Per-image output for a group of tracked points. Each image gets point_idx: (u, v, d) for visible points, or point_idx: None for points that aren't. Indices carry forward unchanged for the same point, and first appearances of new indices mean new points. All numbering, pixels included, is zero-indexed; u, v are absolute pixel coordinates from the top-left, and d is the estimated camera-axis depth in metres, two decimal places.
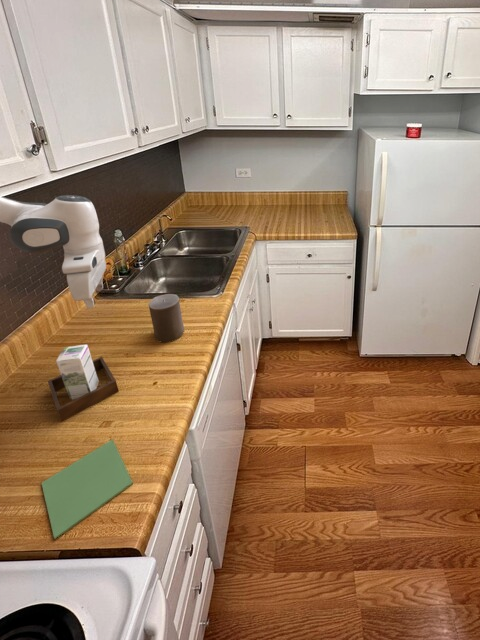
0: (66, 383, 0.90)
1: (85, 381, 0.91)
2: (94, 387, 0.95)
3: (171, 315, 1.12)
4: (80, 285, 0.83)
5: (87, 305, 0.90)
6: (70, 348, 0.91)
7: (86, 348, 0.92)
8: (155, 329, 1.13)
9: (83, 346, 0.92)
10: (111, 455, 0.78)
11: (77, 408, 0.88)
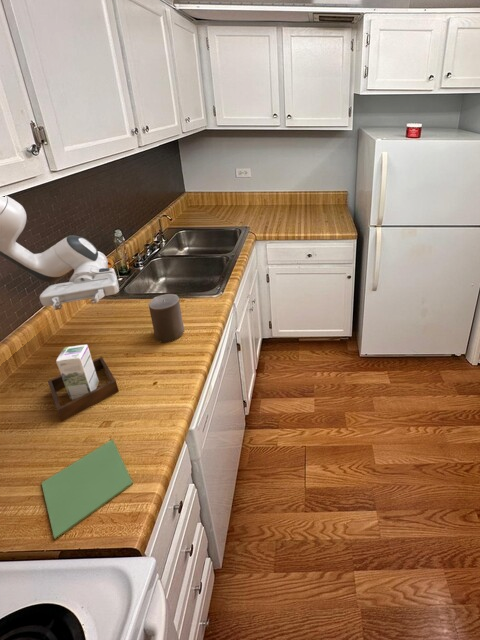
0: (66, 383, 0.90)
1: (85, 381, 0.91)
2: (94, 387, 0.95)
3: (171, 315, 1.12)
4: None
5: (97, 297, 0.99)
6: (70, 348, 0.91)
7: (86, 348, 0.92)
8: (155, 329, 1.13)
9: (83, 346, 0.92)
10: (111, 455, 0.78)
11: (77, 408, 0.88)
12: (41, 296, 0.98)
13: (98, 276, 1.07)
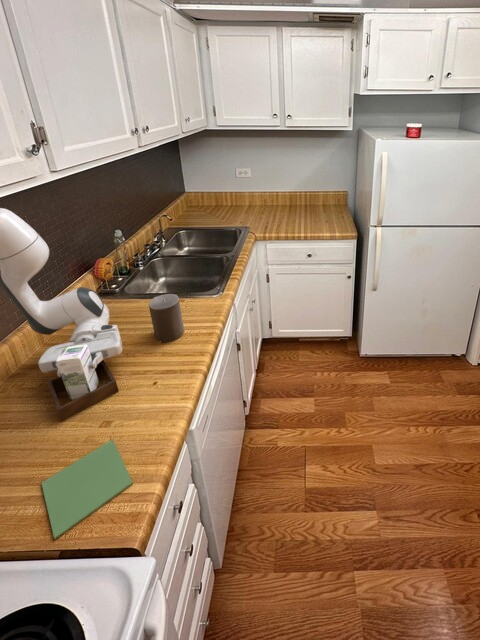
0: (66, 383, 0.90)
1: (85, 381, 0.91)
2: (94, 387, 0.95)
3: (171, 315, 1.12)
4: (121, 342, 1.03)
5: (95, 362, 0.93)
6: (70, 348, 0.91)
7: (86, 348, 0.92)
8: (155, 329, 1.13)
9: (83, 346, 0.92)
10: (111, 455, 0.78)
11: (77, 408, 0.88)
12: (40, 362, 0.92)
13: (100, 335, 1.01)
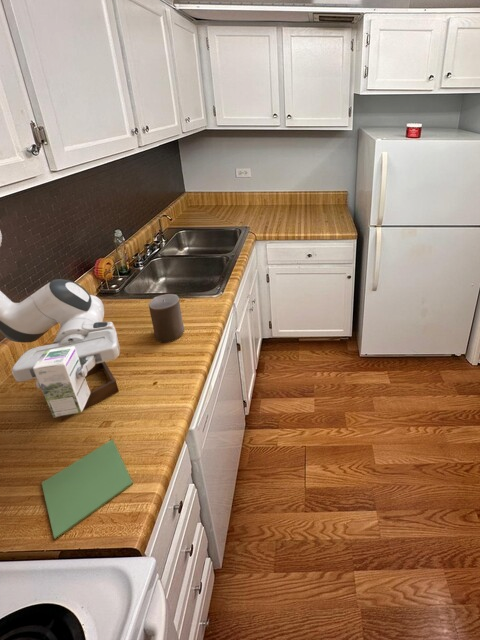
0: (47, 396, 0.70)
1: (72, 394, 0.71)
2: (84, 400, 0.75)
3: (171, 315, 1.12)
4: (118, 343, 0.83)
5: (85, 369, 0.73)
6: (52, 351, 0.71)
7: (73, 351, 0.72)
8: (155, 329, 1.13)
9: (69, 349, 0.72)
10: (111, 455, 0.78)
11: None
12: (14, 369, 0.72)
13: (92, 334, 0.81)
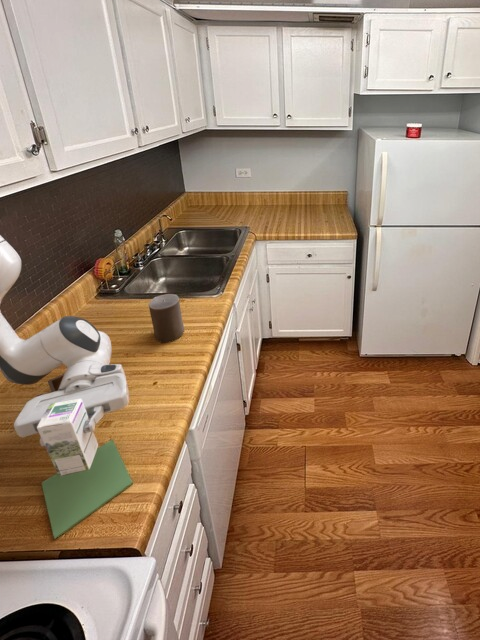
0: (52, 455, 0.64)
1: (79, 451, 0.65)
2: (92, 455, 0.69)
3: (171, 315, 1.12)
4: (127, 388, 0.77)
5: (92, 423, 0.68)
6: (58, 405, 0.65)
7: (80, 404, 0.67)
8: (155, 329, 1.13)
9: (76, 402, 0.66)
10: (111, 455, 0.78)
11: None
12: (16, 424, 0.66)
13: (100, 380, 0.76)
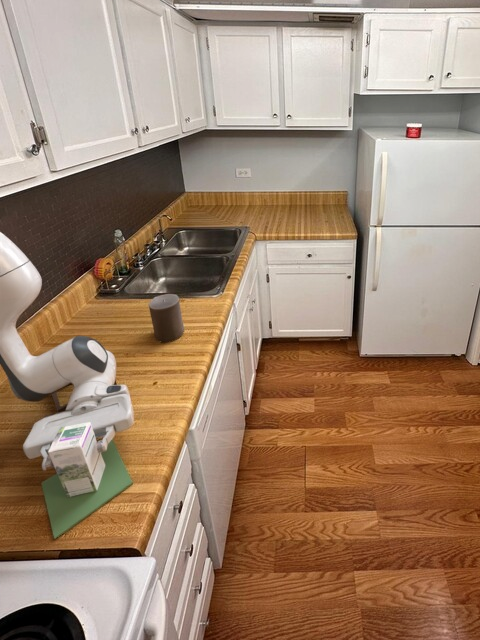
0: (62, 478, 0.67)
1: (88, 474, 0.68)
2: (99, 476, 0.72)
3: (171, 315, 1.12)
4: (132, 408, 0.79)
5: (105, 443, 0.70)
6: (67, 429, 0.68)
7: (89, 428, 0.69)
8: (155, 329, 1.13)
9: (85, 426, 0.69)
10: (111, 455, 0.78)
11: None
12: (25, 446, 0.69)
13: (105, 401, 0.78)
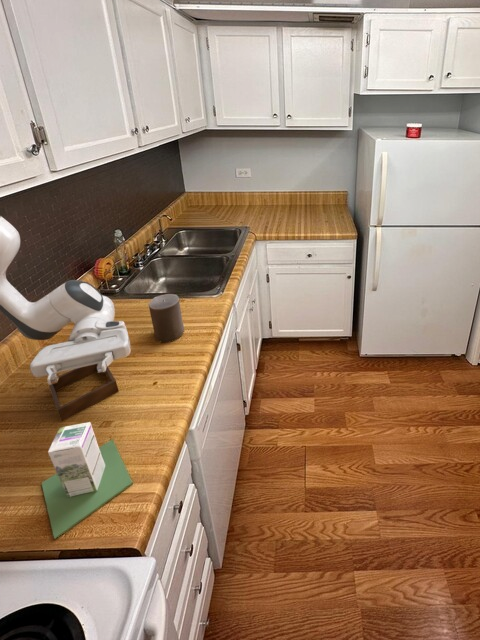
0: (62, 478, 0.67)
1: (88, 474, 0.68)
2: (99, 476, 0.72)
3: (171, 315, 1.12)
4: (129, 341, 0.87)
5: (104, 364, 0.78)
6: (67, 429, 0.68)
7: (89, 428, 0.69)
8: (155, 329, 1.13)
9: (85, 426, 0.69)
10: (111, 455, 0.78)
11: (77, 408, 0.88)
12: (32, 365, 0.76)
13: (105, 333, 0.85)
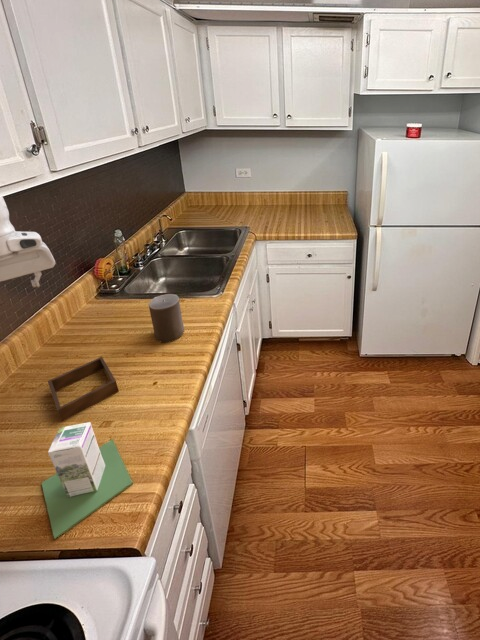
0: (62, 478, 0.67)
1: (88, 474, 0.68)
2: (99, 476, 0.72)
3: (171, 315, 1.12)
4: None
5: None
6: (67, 429, 0.68)
7: (89, 428, 0.69)
8: (155, 329, 1.13)
9: (85, 426, 0.69)
10: (111, 455, 0.78)
11: (77, 408, 0.88)
12: None
13: (23, 253, 0.84)
